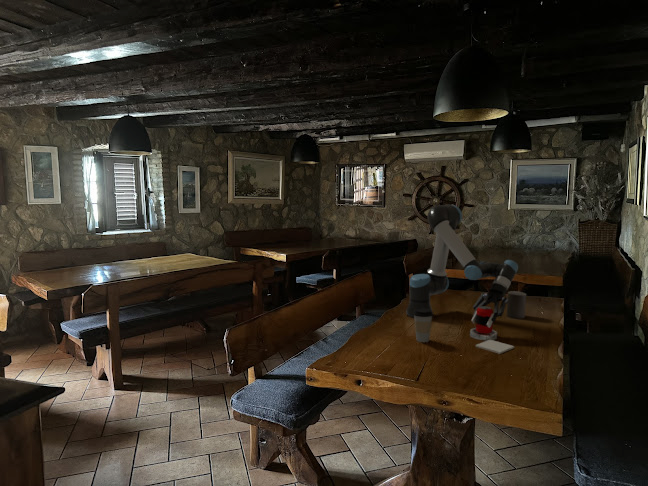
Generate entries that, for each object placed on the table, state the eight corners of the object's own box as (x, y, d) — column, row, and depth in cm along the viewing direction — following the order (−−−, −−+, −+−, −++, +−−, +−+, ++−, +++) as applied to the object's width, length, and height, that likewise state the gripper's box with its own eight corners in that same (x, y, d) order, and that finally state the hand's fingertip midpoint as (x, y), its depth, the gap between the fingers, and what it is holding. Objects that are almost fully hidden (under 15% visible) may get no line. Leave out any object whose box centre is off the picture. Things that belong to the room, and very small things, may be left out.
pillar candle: (506, 317, 245) (507, 291, 243) (506, 313, 254) (507, 288, 252) (525, 319, 241) (526, 293, 240) (524, 315, 250) (525, 289, 249)
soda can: (482, 334, 208) (483, 310, 207) (472, 329, 215) (473, 306, 214) (495, 333, 210) (496, 309, 209) (485, 328, 217) (486, 305, 216)
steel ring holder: (465, 335, 214) (465, 331, 214) (479, 330, 222) (479, 326, 222) (487, 342, 205) (487, 337, 204) (501, 336, 212) (501, 332, 212)
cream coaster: (475, 346, 199) (475, 345, 199) (489, 341, 206) (490, 339, 206) (499, 354, 189) (499, 352, 189) (514, 347, 197) (514, 346, 197)
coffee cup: (433, 344, 202) (433, 313, 201) (412, 343, 204) (412, 312, 203) (432, 337, 212) (432, 308, 210) (412, 336, 213) (412, 307, 212)
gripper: (521, 295, 212) (502, 333, 204) (484, 287, 228) (465, 323, 220) (516, 286, 208) (497, 324, 200) (478, 279, 224) (459, 315, 216)
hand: (480, 324), depth 210 cm, fingers closed on soda can, 7 cm apart
